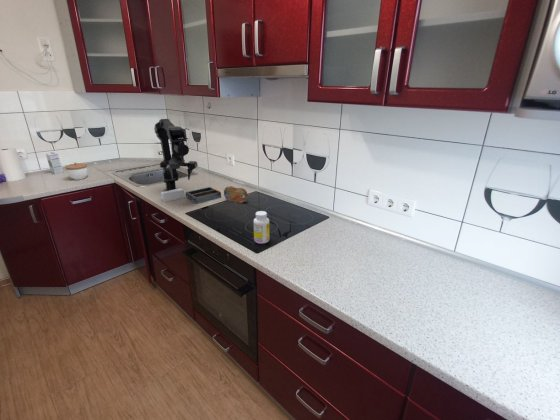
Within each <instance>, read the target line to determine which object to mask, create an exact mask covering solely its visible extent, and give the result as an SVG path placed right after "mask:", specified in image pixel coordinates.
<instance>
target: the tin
mask: <svg viewBox="0 0 560 420" xmlns="http://www.w3.org/2000/svg"><path fill="white" fill-rule="evenodd" d="M223 196H224V198H225V199H226V200H228V201H230V202H234V203H239V204H242V203H244V202H247V200H248V196H249V195H248V192H247V191H246V189H245V188H243V187H239V186H238V187H237V186H232V185H229V186H226V187H225V188H224V189H223Z"/></svg>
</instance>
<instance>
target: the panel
mask: <svg viewBox="0 0 560 420" xmlns="http://www.w3.org/2000/svg"><path fill="white" fill-rule="evenodd" d="M184 191H185V190H184V189H183V188H181V187H180V188H176V189H175V190H170V191H165V190H164V191H162V192H160V197H161V201H162V202H164V203H165V202H171V201H176V200H179V199H184V198H185V192H184Z"/></svg>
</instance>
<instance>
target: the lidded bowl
mask: <svg viewBox="0 0 560 420" xmlns="http://www.w3.org/2000/svg"><path fill="white" fill-rule="evenodd" d="M64 168H65V172H66V173H67V176H69V178H71V179H72V180H74V181H80V180H83V179H85V178H86V177H87V176H88V174H89V173H88V172H89V171H88V170H89V169H88V165H87V163H82V162H81V163H77V162H74V163H72V164H68V165H65V167H64Z"/></svg>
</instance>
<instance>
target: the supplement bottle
mask: <svg viewBox="0 0 560 420" xmlns="http://www.w3.org/2000/svg"><path fill="white" fill-rule="evenodd" d="M267 216H268V213H267V211H264V210H258V211H256V212H255V218H253V241H254V242H255V243H257V244H266V243H268V242H270V219H269V218H268V217H267Z"/></svg>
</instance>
